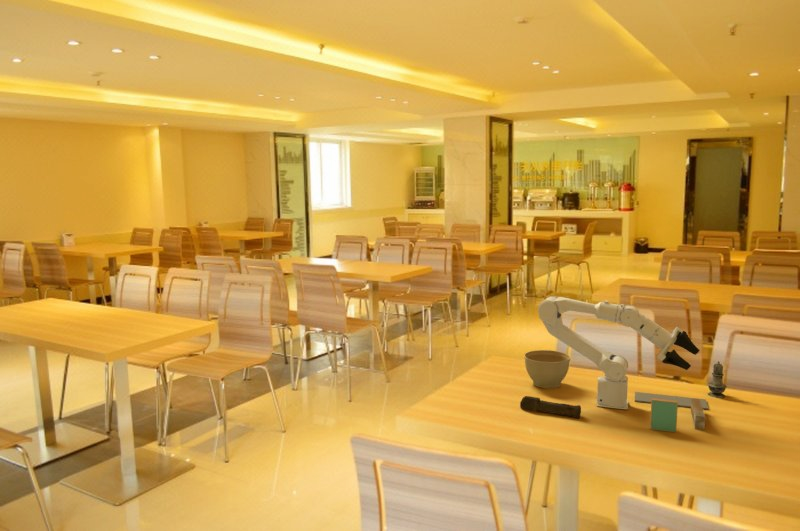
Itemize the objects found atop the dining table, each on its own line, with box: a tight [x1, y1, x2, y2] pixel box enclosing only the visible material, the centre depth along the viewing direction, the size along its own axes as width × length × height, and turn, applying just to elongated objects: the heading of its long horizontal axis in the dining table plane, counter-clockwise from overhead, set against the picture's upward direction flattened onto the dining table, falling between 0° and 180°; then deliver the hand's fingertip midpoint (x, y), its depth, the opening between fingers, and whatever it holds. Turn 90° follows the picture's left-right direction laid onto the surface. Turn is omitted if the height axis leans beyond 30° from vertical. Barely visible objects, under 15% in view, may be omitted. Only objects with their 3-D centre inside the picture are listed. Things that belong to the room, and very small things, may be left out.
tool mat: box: [634, 391, 709, 411], centre depth 203 cm, size 22×9×1 cm, turn 69°
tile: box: [649, 398, 678, 433], centre depth 178 cm, size 7×2×9 cm, turn 69°
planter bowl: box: [523, 349, 571, 389], centre depth 220 cm, size 16×16×11 cm
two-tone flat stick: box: [690, 398, 706, 431], centre depth 186 cm, size 2×16×4 cm, turn 158°
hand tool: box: [519, 395, 582, 420], centre depth 193 cm, size 19×4×5 cm, turn 62°
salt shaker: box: [707, 361, 728, 399], centre depth 208 cm, size 6×6×12 cm
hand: (693, 360), depth 188 cm, fingers open, 7 cm apart
